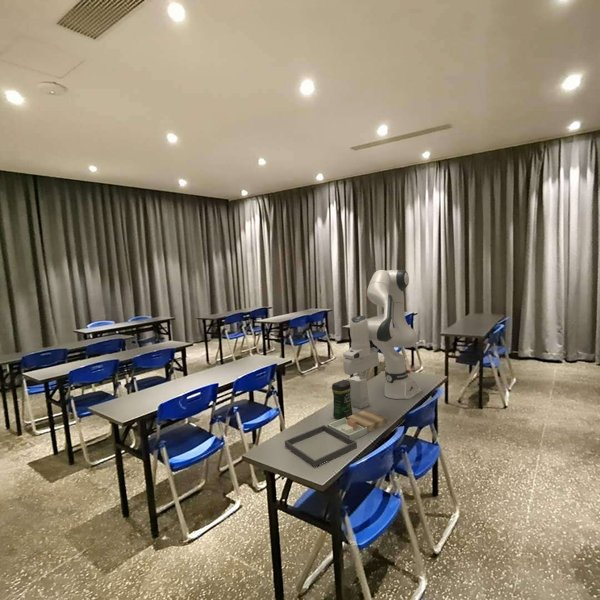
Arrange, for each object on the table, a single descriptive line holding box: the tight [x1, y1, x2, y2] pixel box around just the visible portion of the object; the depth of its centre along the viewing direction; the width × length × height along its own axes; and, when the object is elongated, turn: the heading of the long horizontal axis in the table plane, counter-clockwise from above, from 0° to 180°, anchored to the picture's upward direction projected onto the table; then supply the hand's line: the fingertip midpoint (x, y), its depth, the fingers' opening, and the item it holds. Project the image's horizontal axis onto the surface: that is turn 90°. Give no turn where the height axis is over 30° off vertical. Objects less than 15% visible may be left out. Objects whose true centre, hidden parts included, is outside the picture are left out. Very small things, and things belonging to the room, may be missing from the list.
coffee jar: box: [331, 379, 353, 420], centre depth 183 cm, size 10×8×19 cm
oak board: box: [346, 409, 388, 434], centre depth 174 cm, size 13×14×3 cm
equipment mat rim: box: [284, 424, 358, 468], centre depth 156 cm, size 22×22×2 cm
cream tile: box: [341, 425, 354, 434], centre depth 167 cm, size 4×4×2 cm
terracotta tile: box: [346, 419, 357, 431], centre depth 169 cm, size 4×4×2 cm
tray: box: [327, 418, 368, 441], centre depth 167 cm, size 11×15×3 cm
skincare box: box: [347, 375, 370, 410], centre depth 195 cm, size 8×7×16 cm
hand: (363, 378), depth 172 cm, fingers closed
